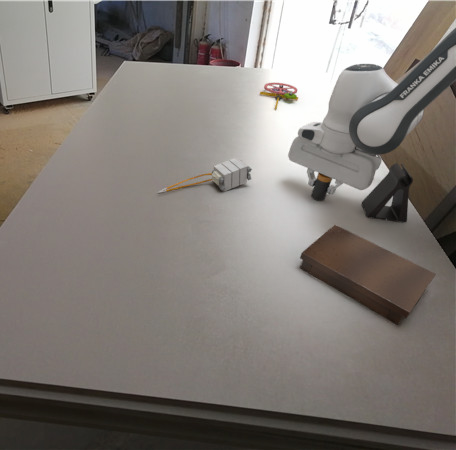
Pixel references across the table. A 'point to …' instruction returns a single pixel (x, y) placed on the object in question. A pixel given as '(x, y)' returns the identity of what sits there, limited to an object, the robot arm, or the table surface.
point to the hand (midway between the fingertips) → (320, 189)
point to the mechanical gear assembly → (280, 92)
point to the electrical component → (224, 175)
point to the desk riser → (367, 272)
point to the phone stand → (390, 196)
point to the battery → (321, 187)
